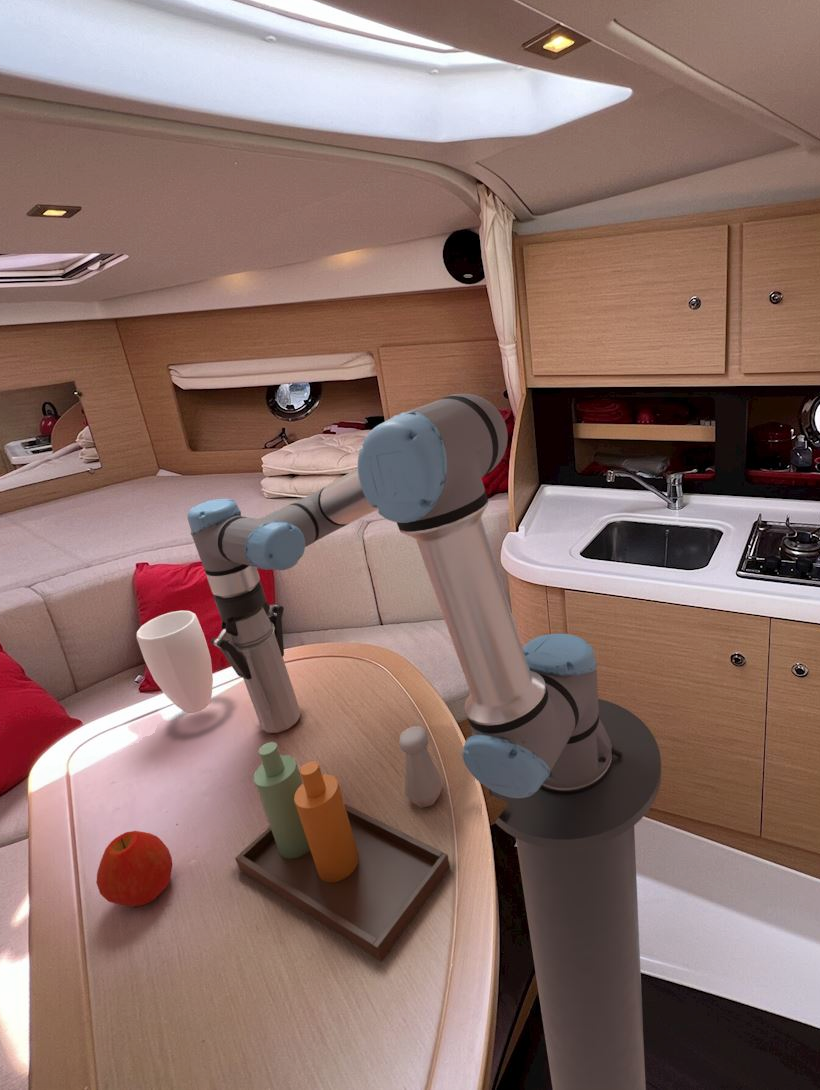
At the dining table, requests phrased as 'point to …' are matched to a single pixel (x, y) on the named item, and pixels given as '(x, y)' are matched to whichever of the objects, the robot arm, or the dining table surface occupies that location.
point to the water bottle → (266, 672)
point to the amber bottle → (326, 824)
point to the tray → (355, 882)
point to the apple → (134, 869)
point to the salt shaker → (419, 768)
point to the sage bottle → (281, 799)
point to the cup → (178, 659)
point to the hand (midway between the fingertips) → (272, 698)
